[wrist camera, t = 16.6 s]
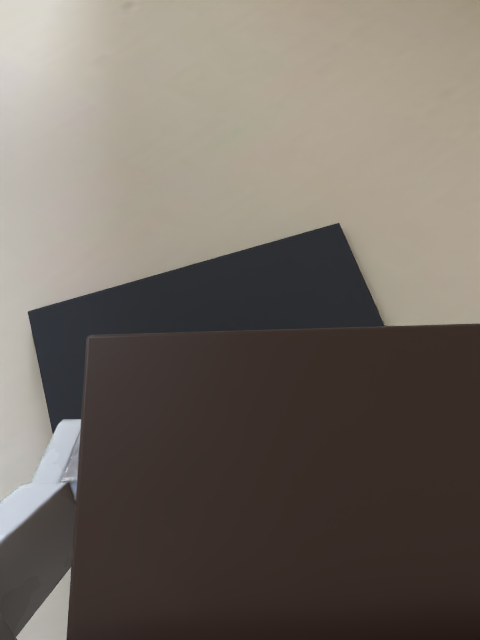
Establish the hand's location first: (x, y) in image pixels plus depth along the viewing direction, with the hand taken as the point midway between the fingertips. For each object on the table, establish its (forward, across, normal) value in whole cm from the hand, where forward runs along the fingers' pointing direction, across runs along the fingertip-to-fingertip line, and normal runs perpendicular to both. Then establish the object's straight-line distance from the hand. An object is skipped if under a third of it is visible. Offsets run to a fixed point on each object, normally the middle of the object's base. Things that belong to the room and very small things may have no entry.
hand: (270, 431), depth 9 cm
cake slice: (+3, 0, +4) cm, 4 cm away
